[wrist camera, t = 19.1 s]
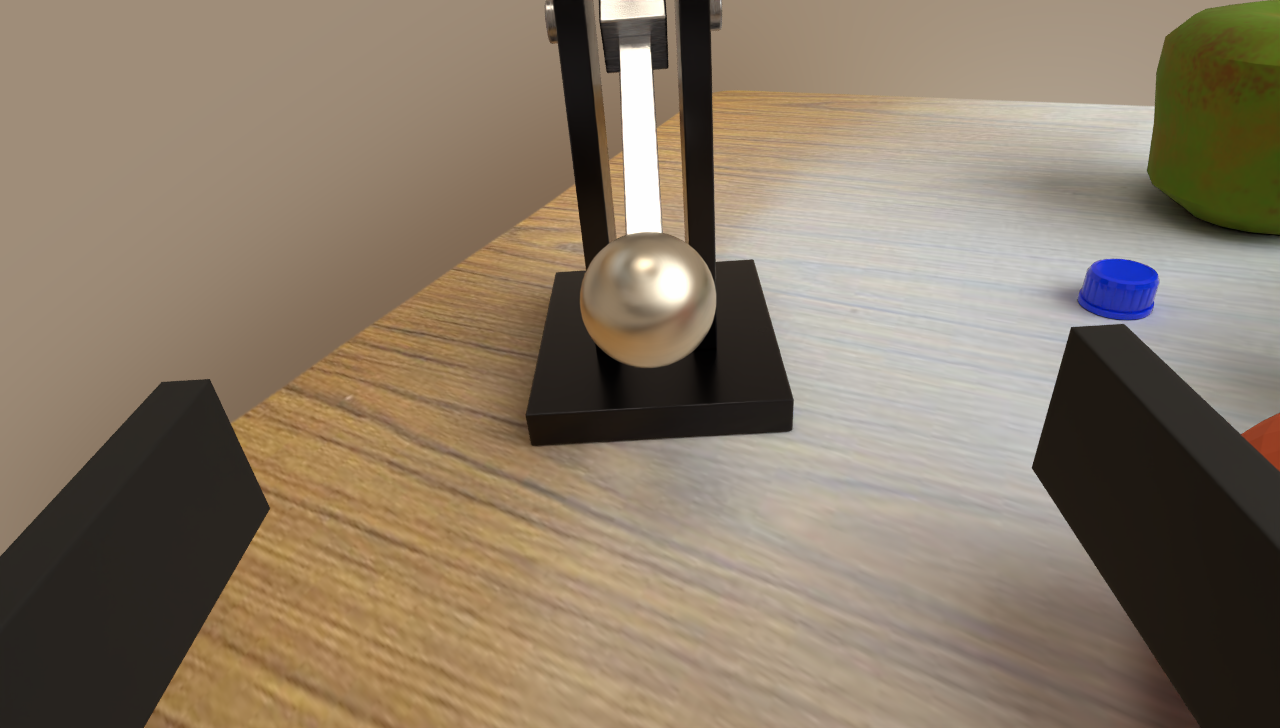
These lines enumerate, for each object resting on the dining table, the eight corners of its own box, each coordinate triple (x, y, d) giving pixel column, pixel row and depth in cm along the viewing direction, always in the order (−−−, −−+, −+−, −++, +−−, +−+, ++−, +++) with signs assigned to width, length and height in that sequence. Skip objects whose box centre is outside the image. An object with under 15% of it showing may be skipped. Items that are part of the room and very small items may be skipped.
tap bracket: (792, 431, 29) (814, -37, 20) (531, 446, 29) (442, -7, 20) (753, 285, 39) (756, -69, 30) (559, 298, 39) (508, -48, 30)
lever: (719, 383, 23) (724, 330, 20) (590, 390, 23) (571, 340, 20) (688, 24, 29) (688, -71, 25) (583, 33, 29) (567, -61, 25)
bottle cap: (1168, 309, 34) (1180, 275, 33) (1117, 326, 33) (1128, 291, 32) (1110, 282, 36) (1120, 249, 35) (1062, 297, 36) (1071, 264, 35)
